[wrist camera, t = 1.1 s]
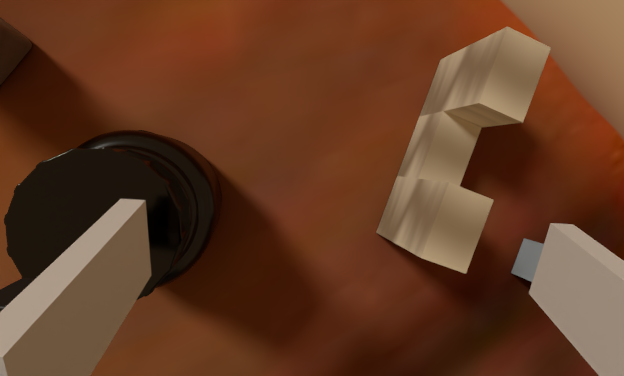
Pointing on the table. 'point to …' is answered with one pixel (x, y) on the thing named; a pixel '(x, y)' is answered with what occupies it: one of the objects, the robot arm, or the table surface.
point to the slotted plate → (527, 259)
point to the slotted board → (459, 146)
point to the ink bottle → (108, 191)
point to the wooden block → (11, 49)
